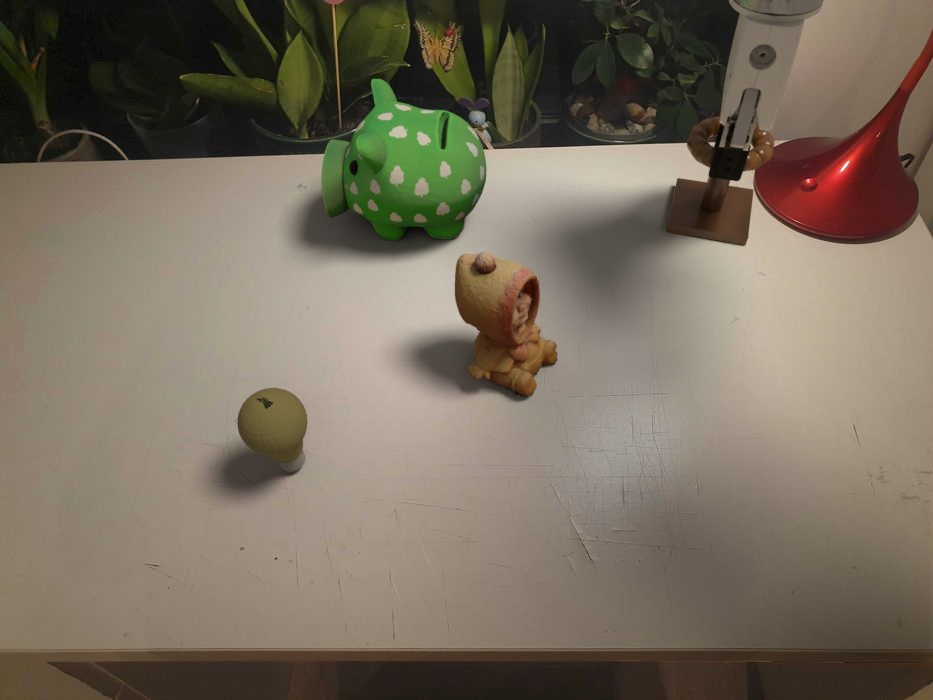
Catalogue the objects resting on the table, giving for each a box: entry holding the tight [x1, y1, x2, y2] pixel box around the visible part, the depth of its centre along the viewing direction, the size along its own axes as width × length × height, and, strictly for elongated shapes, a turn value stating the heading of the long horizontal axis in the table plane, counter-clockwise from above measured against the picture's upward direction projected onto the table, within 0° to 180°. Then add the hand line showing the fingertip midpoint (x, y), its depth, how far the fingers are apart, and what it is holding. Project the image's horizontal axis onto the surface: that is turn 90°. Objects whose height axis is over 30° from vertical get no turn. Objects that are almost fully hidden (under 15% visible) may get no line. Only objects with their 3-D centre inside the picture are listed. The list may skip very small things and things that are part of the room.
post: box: [665, 176, 754, 246], centre depth 75 cm, size 9×9×9 cm
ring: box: [686, 115, 775, 173], centre depth 71 cm, size 9×9×2 cm
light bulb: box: [236, 387, 308, 473], centre depth 57 cm, size 6×6×10 cm
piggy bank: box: [320, 78, 487, 242], centre depth 75 cm, size 14×18×15 cm
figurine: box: [454, 251, 558, 398], centre depth 62 cm, size 10×8×15 cm
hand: (725, 167), depth 70 cm, fingers closed on ring, 2 cm apart
